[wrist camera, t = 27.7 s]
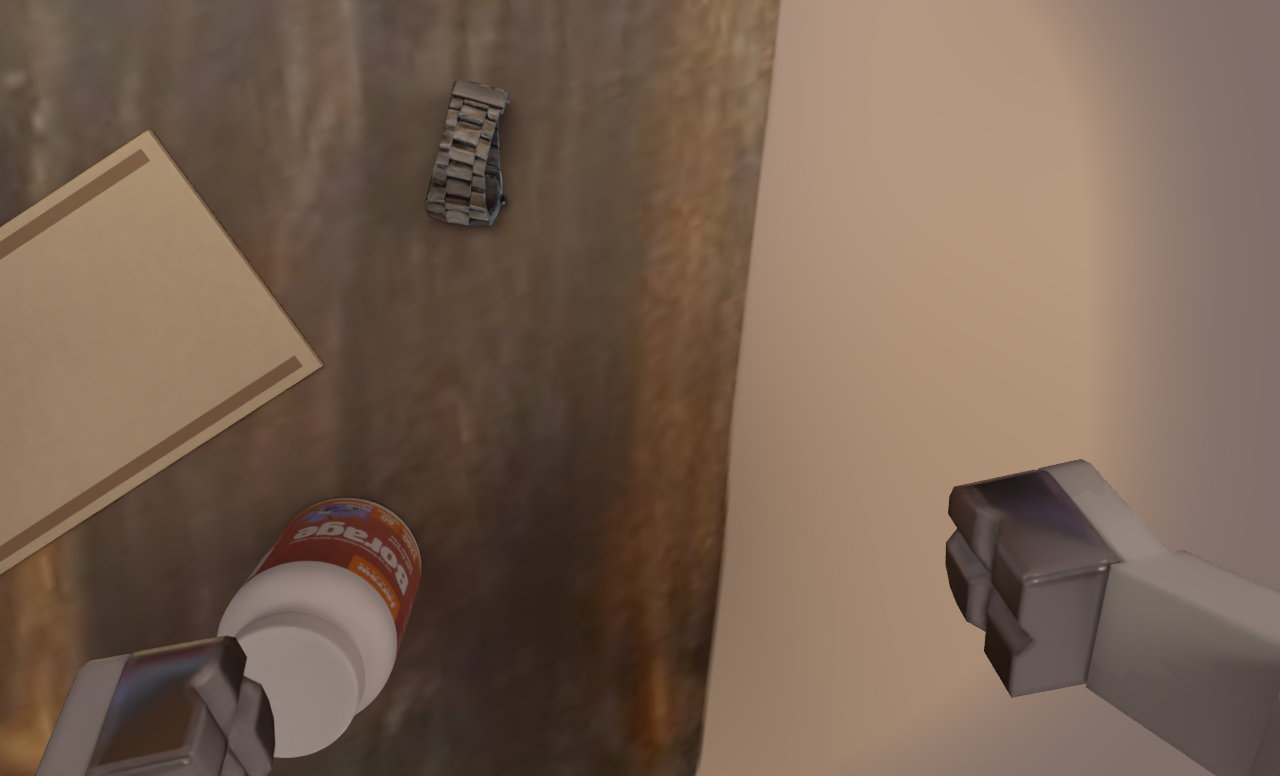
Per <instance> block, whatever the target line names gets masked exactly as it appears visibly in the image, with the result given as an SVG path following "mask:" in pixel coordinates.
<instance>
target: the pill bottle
mask: <svg viewBox="0 0 1280 776" xmlns="http://www.w3.org/2000/svg"><path fill="white" fill-rule="evenodd" d="M420 577H421V558H420V553H419V549H418V545H417V543H416V541H415V538H414V536H413V534H412V533H411V531H410V530H409V528H408V527H407V525H406V524H405V523H404V522H403V521H402V520H401V519H400V518H399V517H398V516H397V515H396V514H394V513H393V512H391V511H390V510H388V509H387V508H385V507H383V506H381V505H379V504H377V503H374V502H371V501H368V500H363V499H357V498H336V499H330V500H326V501H323V502H319V503H317V504H314V505H312V506H310V507H308V508H307V509H305V510H304V511H302V512H301V513H299V514H298V515H297V516H296V517H295V518H294V519H293V520H292V521H291V522H290V523H289V524H288V525H287V526H286V527H285V529H284V530H283V531H282V533H281V534H280V535H279V537H278V538H277V539H276V541H275V542H274V544H273V545H272V546H271V548H270V549H269V550H268V552H267V553H266V554H265V556H264V557H263V558H262V560H261V561H260V562H259V564H258V565H257V566H256V568H255V569H254V570H253V572H252V573H251V575H250V576H249V577H248V579H247V580H246V581H245V583H244V584H243V585H242V587H241V588H240V589H239V591H238V592H237V593H236V595H235V596H234V598H233V599H232V601H231V602H230V604H229V605H228V607H227V609H226V611H225V613H224V615H223V617H222V619H221V622H220V625H219V629H218V634H217V637H221V636H231V637H236V639H237V641H238V642H239V644H240V646H241V647H242V649H243V651H244V653H245V654H246V656H247V661H246V666H245V670H244V676H246V677H248V678H250V679H252V680H254V681H256V682H258V683H260V684H261V685H262V687H263V689H264V691H265V693H266V695H267V697H268V699H269V702H270V705H271V709H272V712H273V716H274V726H275V751H274V757H281V758H291V757H299V756H305V755H308V754H312V753H314V752H317V751H319V750H321V749H323V748H325V747H327V746H328V745H330V744H331V743H333V742H334V741H335V740H336V739H337V738H338V737H339V736H340V735H341V734H342V733H343V732H344V731H345V730H346V729H347V727H348V726H349V724H350V723H351V721H352V719H353V717H354V715H356V714H357V713H359V712H360V711H362V710H363V709H364V708H365V707H367V706H368V705H369V704H370V703H371V702H372V701H373V700H374V699H375V698H376V697H377V695H378V694H379V693H380V692H381V690H382V689H383V687H384V685H385V684H386V682H387V680H388V678H389V676H390V673H391V671H392V669H393V666H394V664H395V661H396V657H397V654H398V651H399V648H400V646H401V642H402V639H403V635H404V633H405V629H406V626H407V623H408V620H409V617H410V613H411V610H412V607H413V604H414V601H415V597H416V594H417V591H418V588H419V583H420Z"/></svg>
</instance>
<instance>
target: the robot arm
mask: <svg viewBox="0 0 1280 776" xmlns="http://www.w3.org/2000/svg"><path fill="white" fill-rule="evenodd" d="M948 514H949V516H950V517H951V519H952V520H953V522H954V524H955V525H956V527H957V530H956V531H955V532H954V533H953V534H952V536H951V537H950V538H949V539H948V541H947V542H946V569H947V574H948V579H949V584H950V588H951V590H952V593H953V596H954V598H955V601H956V603H957V605H958V607H959V609H960V611H961V612H962V614H963V616H964V618H965V619H966V621H967V622H969V623H971V624H972V625H974V626H976V627H978V628H980V629H982V630H983V631H985V632H986V635H985V646H984V652H985V654H986V655H987V657H988V659H989V660H990V662H991V664H992V666H993V667H994V669H995V670H996V672H997V674H998V676H999V677H1000V679H1001V681H1002V682H1003V684H1004V686H1005V687H1006V689H1007V691H1008V692H1009V694H1010V696H1011V697H1017V696H1023V695H1028V694H1033V693H1039V692H1044V691H1049V690H1054V689H1059V688H1065V687H1070V686H1076V685H1081V684H1086V683H1087V684H1086V688H1088V689H1089V690H1091V691H1092V692H1094V693H1095V694H1096V695H1098V696H1100V697H1101V698H1102V699H1104V700H1105V701H1107V702H1108V703H1110V704H1111V705H1113V706H1114V707H1116V708H1117V709H1119V710H1120V711H1122V712H1123V713H1125V714H1126V715H1127V716H1129V717H1130V718H1132V719H1133V720H1135V721H1136V722H1138V723H1139V724H1141V725H1142V726H1144V727H1145V728H1147V729H1148V730H1149V731H1151V732H1153V733H1154V734H1155V735H1157V736H1158V737H1160V738H1161V739H1163V740H1164V741H1166V742H1167V743H1169V744H1170V745H1172V746H1173V747H1175V748H1176V749H1178V750H1179V751H1181V752H1182V753H1183V754H1185V755H1186V756H1188V757H1189V758H1191V759H1192V760H1194V761H1195V762H1197V763H1198V764H1200V765H1201V766H1202V767H1204V768H1206V769H1207V770H1208V771H1210V772H1212V773H1213V774H1214V775H1216V776H1280V591H1279V590H1277V589H1274V588H1272V587H1270V586H1267V585H1265V584H1263V583H1260V582H1258V581H1256V580H1253V579H1251V578H1249V577H1246V576H1244V575H1241V574H1239V573H1237V572H1234V571H1232V570H1230V569H1227V568H1225V567H1223V566H1220V565H1218V564H1215V563H1213V562H1211V561H1208V560H1206V559H1204V558H1201V557H1199V556H1196V555H1194V554H1192V553H1189V552H1187V551H1185V550H1181V551H1176V552H1170V551H1169V550H1168V549H1167V548H1166V547H1165V545H1164V544H1163V543H1162V542H1161V541H1160V540H1159V539H1158V538H1157V537H1156V535H1155V534H1154V533H1153V532H1152V531H1151V530H1150V529H1149V528H1148V527H1147V525H1146V524H1144V522H1143V521H1142V520H1141V519H1140V518H1139V517H1138V515H1137V514H1135V512H1134V511H1133V510H1132V509H1131V508H1130V507H1129V505H1128V504H1127V503H1126V502H1125V501H1124V500H1123V499H1122V498H1121V497H1120V496H1119V495H1118V493H1117V492H1116V491H1115V490H1114V489H1113V488H1112V487H1111V486H1110V484H1109V483H1108V482H1107V481H1106V480H1105V479H1104V478H1103V477H1102V476H1101V474H1100V473H1099V472H1098V471H1097V470H1096V469H1095V468H1094V467H1093V466H1092V465H1091V463H1089V462H1086V461H1084V460H1082V459H1079V460H1075V461H1070V462H1065V463H1061V464H1056V465H1052V466H1047V467H1043V468H1039V469H1038V470H1031V471H1026V472H1021V473H1016V474H1012V475H1007V476H1003V477H997V478H993V479H988V480H983V481H979V482H974V483H970V484H965V485H960V486H956V487H954V488H953V490H952V492H951V494H950V497H949V509H948ZM246 661H247V656H246V654H245V653H244V651H243V649H242V647H241V646H240V644H239V642H238V641H237V639H236V637H231V636H221V637H215V638H209V639H204V640H198V641H193V642H187V643H182V644H176V645H170V646H165V647H159V648H154V649H148V650H143V651H137V652H135V653H133V654H127V655H121V656H115V657H109V658H104V659H98V660H92V661H89V662H88V663H86V664H85V665H84V666H83V667H82V668H81V669H80V670H79V671H78V673H77V674H76V676H75V679H74V681H73V684H72V686H71V689H70V691H69V693H68V696H67V698H66V701H65V703H64V705H63V708H62V710H61V713H60V715H59V718H58V720H57V722H56V725H55V727H54V730H53V732H52V735H51V737H50V739H49V742H48V744H47V747H46V749H45V752H44V754H43V756H42V759H41V761H40V764H39V766H38V769H37V771H36V773H35V776H266V775H267V774H268V773H269V772H270V770H271V769H272V764H273V758H274V751H275V726H274V716H273V712H272V709H271V705H270V702H269V699H268V697H267V695H266V693H265V691H264V689H263V687H262V685H261V684H260V683H258V682H256V681H254V680H252V679H250V678H248V677H246V676H244V670H245V666H246Z"/></svg>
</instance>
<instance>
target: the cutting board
mask: <svg viewBox="0 0 1280 776" xmlns="http://www.w3.org/2000/svg"><path fill="white" fill-rule="evenodd" d="M322 366H323V363H322V362H321V360H320V359H319V358H318V356H317V355H316V354H315V352H314V351H313V349H312V348H311V347H310V345H309V344H308V343H307V341H306V340H305V339H304V337H303V336H302V334H301V333H300V332H299V330H298V329H297V328H296V326H295V325H294V324H293V322H292V321H291V320H290V318H289V317H288V315H287V314H286V313H285V311H284V310H283V309H282V307H281V306H280V305H279V303H278V302H277V301H276V299H275V298H274V296H273V295H272V294H271V292H270V291H269V290H268V288H267V287H266V286H265V284H264V283H263V281H262V280H261V279H260V277H259V276H258V275H257V273H256V272H255V271H254V269H253V268H252V267H251V265H250V264H249V262H248V261H247V260H246V258H245V257H244V256H243V254H242V253H241V252H240V250H239V249H238V248H237V246H236V245H235V243H234V242H233V241H232V239H231V238H230V237H229V235H228V234H227V233H226V231H225V230H224V229H223V227H222V226H221V224H220V223H219V222H218V220H217V219H216V218H215V216H214V215H213V214H212V212H211V211H210V209H209V208H208V207H207V205H206V204H205V203H204V201H203V200H202V199H201V197H200V196H199V195H198V193H197V192H196V190H195V189H194V188H193V186H192V185H191V184H190V182H189V181H188V180H187V178H186V177H185V176H184V174H183V173H182V171H181V170H180V169H179V167H178V166H177V165H176V163H175V162H174V161H173V159H172V158H171V156H170V155H169V154H168V152H167V151H166V150H165V148H164V147H163V146H162V144H161V143H160V142H159V140H158V139H157V137H156V136H155V135H154V133H153V132H152V131H150V130H147V131H145V132H144V133H142V134H141V135H139V136H138V137H136V138H135V139H133V140H132V141H130V142H129V143H127V144H126V145H124V146H123V147H121V148H120V149H118V150H117V151H115V152H113V153H112V154H110V155H109V156H107V157H106V158H104V159H103V160H101V161H100V162H98V163H97V164H95V165H94V166H92V167H91V168H89V169H88V170H86V171H85V172H83V173H82V174H80V175H79V176H77V177H76V178H74V179H73V180H71V181H70V182H68V183H67V184H65V185H64V186H62V187H61V188H59V189H58V190H56V191H54V192H53V193H51V194H50V195H48V196H47V197H45V198H44V199H42V200H41V201H39V202H38V203H36V204H35V205H33V206H32V207H30V208H29V209H27V210H26V211H24V212H23V213H21V214H20V215H18V216H17V217H15V218H14V219H12V220H11V221H9V222H8V223H6V224H5V225H3V226H2V227H0V574H2V573H4V572H5V571H7V570H8V569H10V568H11V567H13V566H14V565H16V564H18V563H19V562H21V561H22V560H24V559H25V558H27V557H28V556H30V555H31V554H33V553H35V552H36V551H38V550H39V549H41V548H42V547H44V546H45V545H47V544H48V543H50V542H52V541H53V540H55V539H56V538H58V537H59V536H61V535H62V534H64V533H65V532H67V531H69V530H70V529H72V528H73V527H75V526H76V525H78V524H79V523H81V522H82V521H84V520H86V519H87V518H89V517H90V516H92V515H93V514H95V513H96V512H98V511H99V510H101V509H103V508H104V507H106V506H107V505H109V504H110V503H112V502H113V501H115V500H116V499H118V498H120V497H121V496H123V495H124V494H126V493H127V492H129V491H130V490H132V489H133V488H135V487H137V486H138V485H140V484H141V483H143V482H144V481H146V480H147V479H149V478H150V477H152V476H154V475H155V474H157V473H158V472H160V471H161V470H163V469H164V468H166V467H168V466H169V465H171V464H172V463H174V462H175V461H177V460H178V459H180V458H181V457H183V456H185V455H186V454H188V453H189V452H191V451H192V450H194V449H195V448H197V447H198V446H200V445H202V444H203V443H205V442H206V441H208V440H209V439H211V438H212V437H214V436H215V435H217V434H219V433H220V432H222V431H223V430H225V429H226V428H228V427H229V426H231V425H232V424H234V423H236V422H237V421H239V420H240V419H242V418H243V417H245V416H246V415H248V414H249V413H251V412H253V411H254V410H256V409H257V408H259V407H260V406H262V405H263V404H265V403H266V402H268V401H270V400H271V399H273V398H274V397H276V396H277V395H279V394H280V393H282V392H283V391H285V390H287V389H288V388H290V387H291V386H293V385H294V384H296V383H297V382H299V381H300V380H302V379H304V378H305V377H307V376H308V375H310V374H311V373H313V372H314V371H316V370H317V369H319V368H321V367H322Z"/></svg>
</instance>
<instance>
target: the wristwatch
mask: <svg viewBox="0 0 1280 776" xmlns="http://www.w3.org/2000/svg"><path fill="white" fill-rule="evenodd" d="M507 95H508V94H507V93H506V92H504V90H503V89H501V88H498V87H493V86H488V85H484V84H480V83H475V82H471V81H467V80H464V79H459V80H458V81H455V82H454V84H453V89H452V95H451V100H450V104H449V109H448V113H447V118H446V122H445V126H444V130H443V135H442V139H441V143H440V147H439V151H438V155H437V159H436V163H435V166H434V167H433V171H432V175H431V180H430V184H429V188H428V192H427V197H426V201H425V206H424V209H425V211H426V213H427V215H428V216H429V217H432V218H435V219H438V220H442V221H445V222H449V223H453V224H460V225H469V226H480V227H487V226H490V225H492V223H493V222H494V220H495V219H496V217H497V215H498V213H499V210H500V207H501V206H504V205H507V196H506V195H503V180H502V174H501V172H500V155H499V146H500V141H499V132H498V122H499V115H500V114H503V112H504V109H505V105H506V104H509V103H510V101H509V100H507Z"/></svg>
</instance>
